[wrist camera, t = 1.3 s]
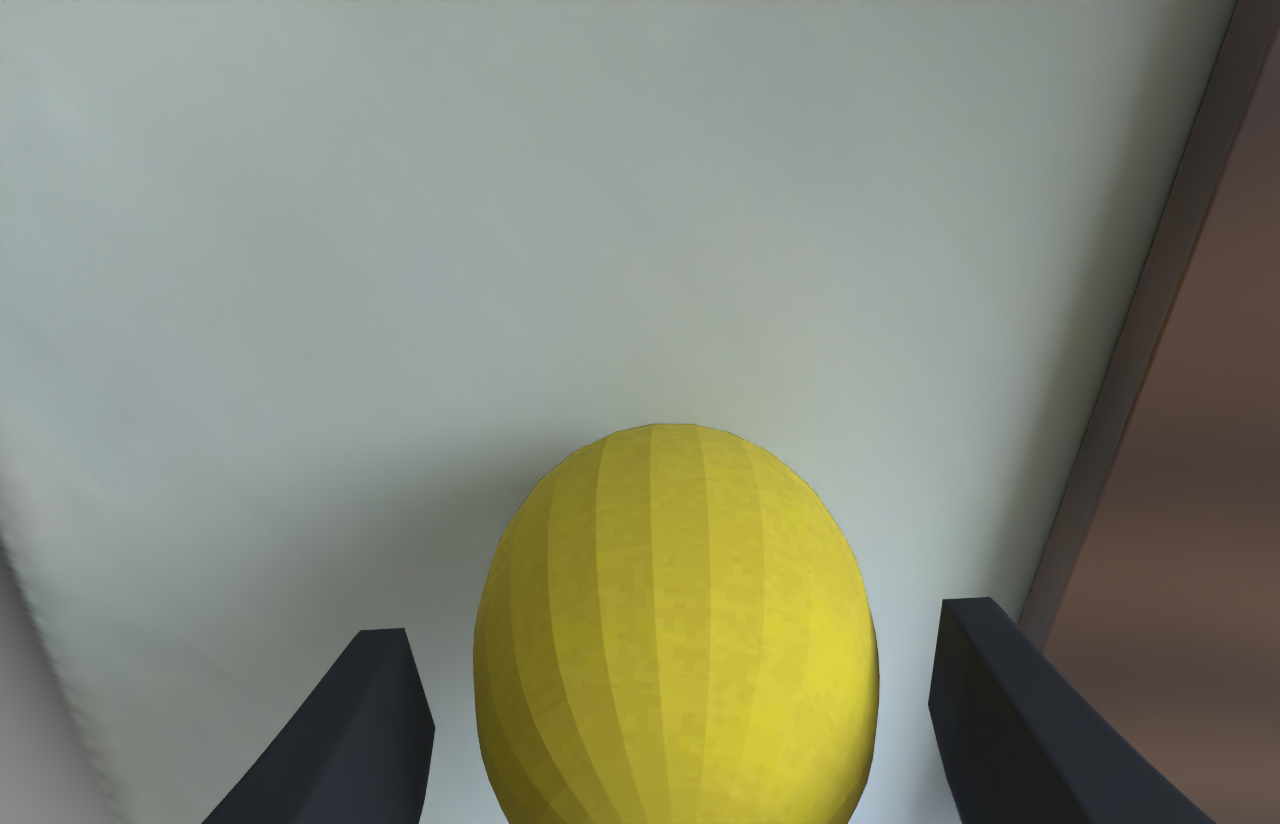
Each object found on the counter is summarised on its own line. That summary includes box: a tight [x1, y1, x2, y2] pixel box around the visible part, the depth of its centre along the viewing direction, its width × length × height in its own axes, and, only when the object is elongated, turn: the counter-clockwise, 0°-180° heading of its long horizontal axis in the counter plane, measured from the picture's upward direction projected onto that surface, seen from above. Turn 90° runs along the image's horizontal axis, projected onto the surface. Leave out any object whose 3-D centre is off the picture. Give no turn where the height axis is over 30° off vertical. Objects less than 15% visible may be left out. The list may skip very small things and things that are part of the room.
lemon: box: [473, 424, 880, 824], centre depth 12 cm, size 6×6×8 cm
